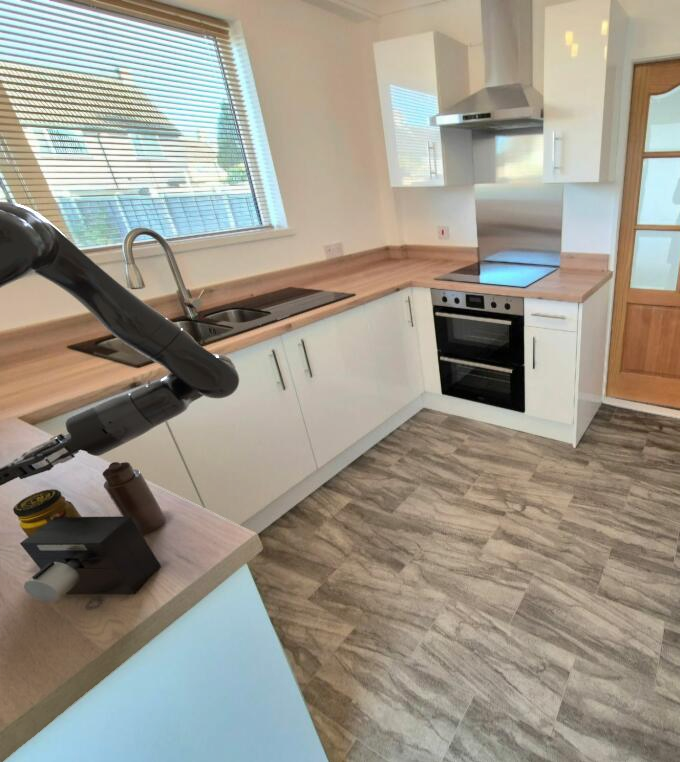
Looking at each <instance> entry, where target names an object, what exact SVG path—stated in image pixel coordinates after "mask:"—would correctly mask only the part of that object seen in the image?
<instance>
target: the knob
mask: <svg viewBox="0 0 680 762" xmlns="http://www.w3.org/2000/svg"><path fill="white" fill-rule="evenodd" d="M80 565H81V562H80V561H79V559H78V558H72V559H71V560H70V561H69V562H68V563H66V564H64V563H61V562H50V563H48V564H47V565H46V566H45V567H44V568H42V569H40V570H39V571H37V572H36V573H35V574H34V575H32V577H30V578H29V579H28V580H26V581H25V582H24V584H23V588H24V590H25V591H26V593H27V594H28V595H29V596H31V597H33V598H34V599H36V600H38V601H41V602H42V603H43V602H44V603H56V602H58V601H59V600H61V599H62V598H63V597H64V596H65V595H67V594H66V593H67V592H68V591H69V590H70V589H71V588H72V587H74V586H75V585H76V584H77V583H78V582H79V581H80V575H79V573H78V572H77V571H76V569H77V568H78V567H79V566H80Z"/></svg>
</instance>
